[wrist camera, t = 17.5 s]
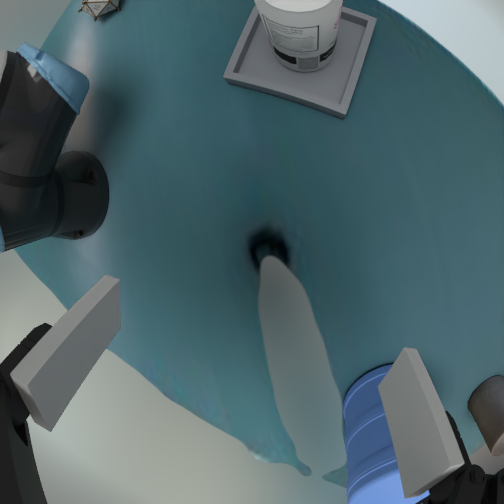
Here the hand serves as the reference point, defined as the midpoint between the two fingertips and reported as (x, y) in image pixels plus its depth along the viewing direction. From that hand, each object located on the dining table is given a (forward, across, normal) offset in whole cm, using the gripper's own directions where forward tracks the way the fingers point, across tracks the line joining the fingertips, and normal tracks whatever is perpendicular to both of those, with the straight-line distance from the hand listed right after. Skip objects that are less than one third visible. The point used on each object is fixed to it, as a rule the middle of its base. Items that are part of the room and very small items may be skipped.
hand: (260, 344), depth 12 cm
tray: (+31, -1, +21) cm, 38 cm away
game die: (+37, -37, +29) cm, 60 cm away
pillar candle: (+19, +50, -21) cm, 58 cm away
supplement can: (+30, -1, +21) cm, 37 cm away
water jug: (+22, +27, -25) cm, 43 cm away
